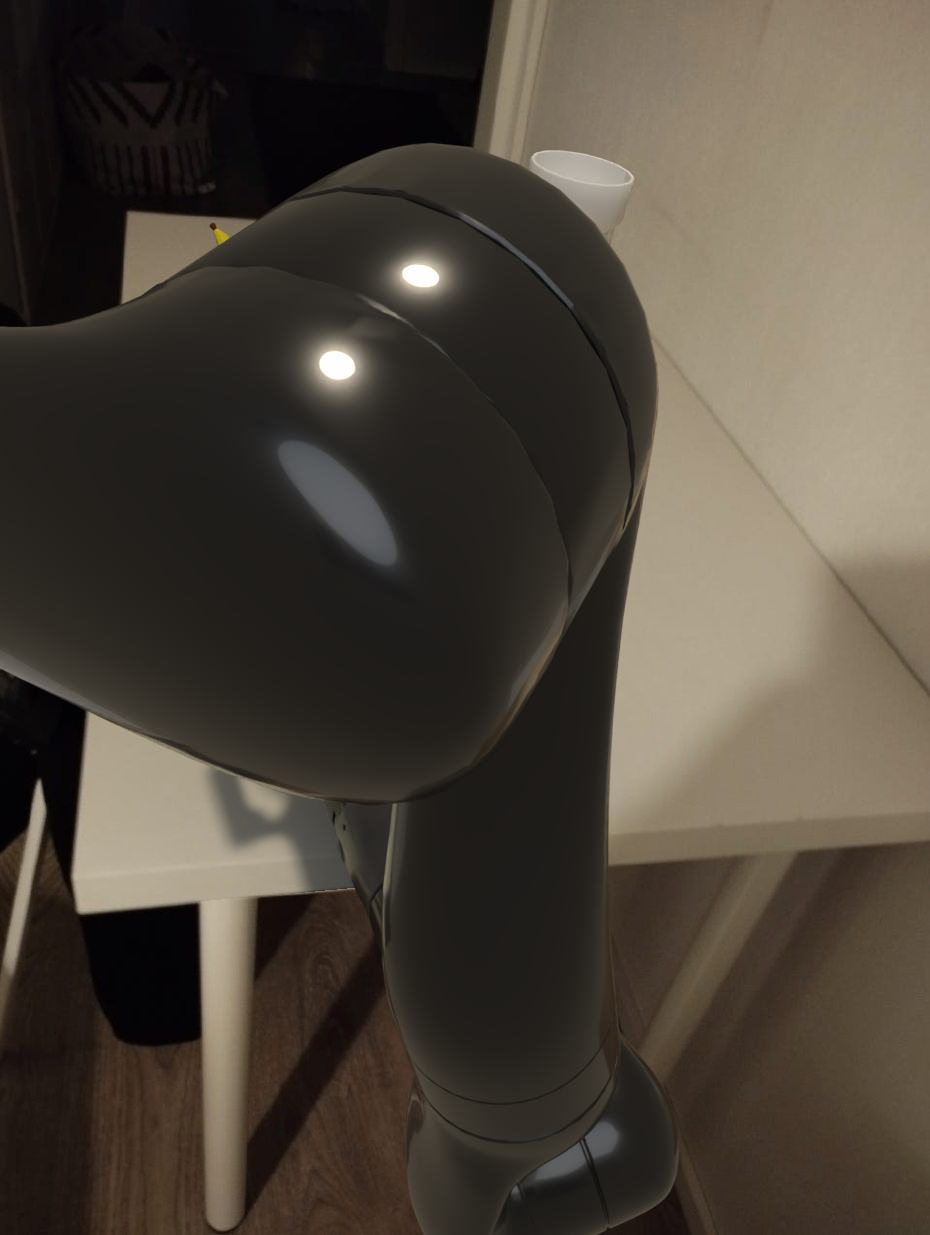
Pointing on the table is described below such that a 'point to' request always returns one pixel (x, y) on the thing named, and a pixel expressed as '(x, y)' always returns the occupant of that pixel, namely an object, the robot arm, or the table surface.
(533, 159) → the cup
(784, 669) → the table surface
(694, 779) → the table surface
